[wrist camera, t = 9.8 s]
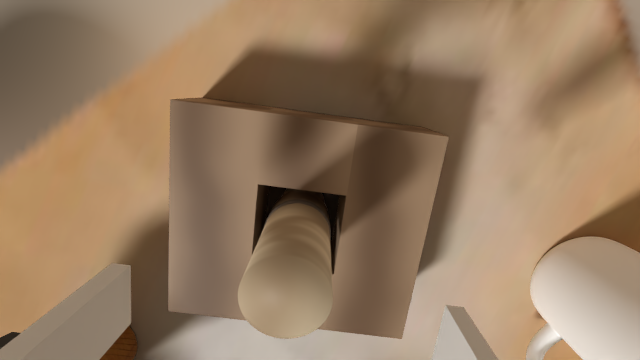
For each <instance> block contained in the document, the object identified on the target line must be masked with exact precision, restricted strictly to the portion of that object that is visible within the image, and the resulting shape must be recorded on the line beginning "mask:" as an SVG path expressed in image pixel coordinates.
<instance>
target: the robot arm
mask: <svg viewBox="0 0 640 360" xmlns="http://www.w3.org/2000/svg"><path fill="white" fill-rule="evenodd" d="M130 324H131V265H124V264H116V263H111V264H110V265H109V266H108V267H106V268H105V269H104V270H102V271H101V272H100V273H98V274H97V275H96V276H95V277H93V278H92V279H91V280H89V281H88V282H87V283H85V284H84V285H83V286H82V287H80V288H79V289H78V290H76V291H75V292H74V293H72V294H71V295H70V296H69V297H67V298H66V299H65V300H63V301H62V302H61V303H59V304H58V305H57V306H56V307H54V308H53V309H52V310H50V311H49V312H48V313H47V314H45V315H44V316H43V317H41V318H40V319H39V320H37V321H36V322H35V323H34V324H32V325H31V326H30V327H28V328H27V329H26V330H24V331H23V332H22V333H17V332H11V333H9V334H7V335H5V336H3V337H1V338H0V360H100V358H101V357H102V356H103V355H104V354H105V353H106V351H107V350H108V349H109V348H110V347H111V346H112V345H113V343H114V342H115V341H116V340H117V339H118V338H119V336H120V335H121V334H122V333H123V332H124V331H125V330H126V328H127V327H128V326H129V325H130ZM432 360H498V358H497V357H496V355H495V354H494V352H493V351H492V349H491V348H490V346H489V345H488V343H487V342H486V340H485V339H484V337H483V336H482V334H481V333H480V331H479V330H478V328H477V327H476V325H475V324H474V322H473V321H472V319H471V318H470V316H469V315H468V313H467V312H466V310H465V309H464V307H457V306H449V305H445V309H444V313H443V317H442V321H441V325H440V329H439V333H438V337H437V341H436V345H435V349H434V352H433V356H432Z"/></svg>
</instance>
